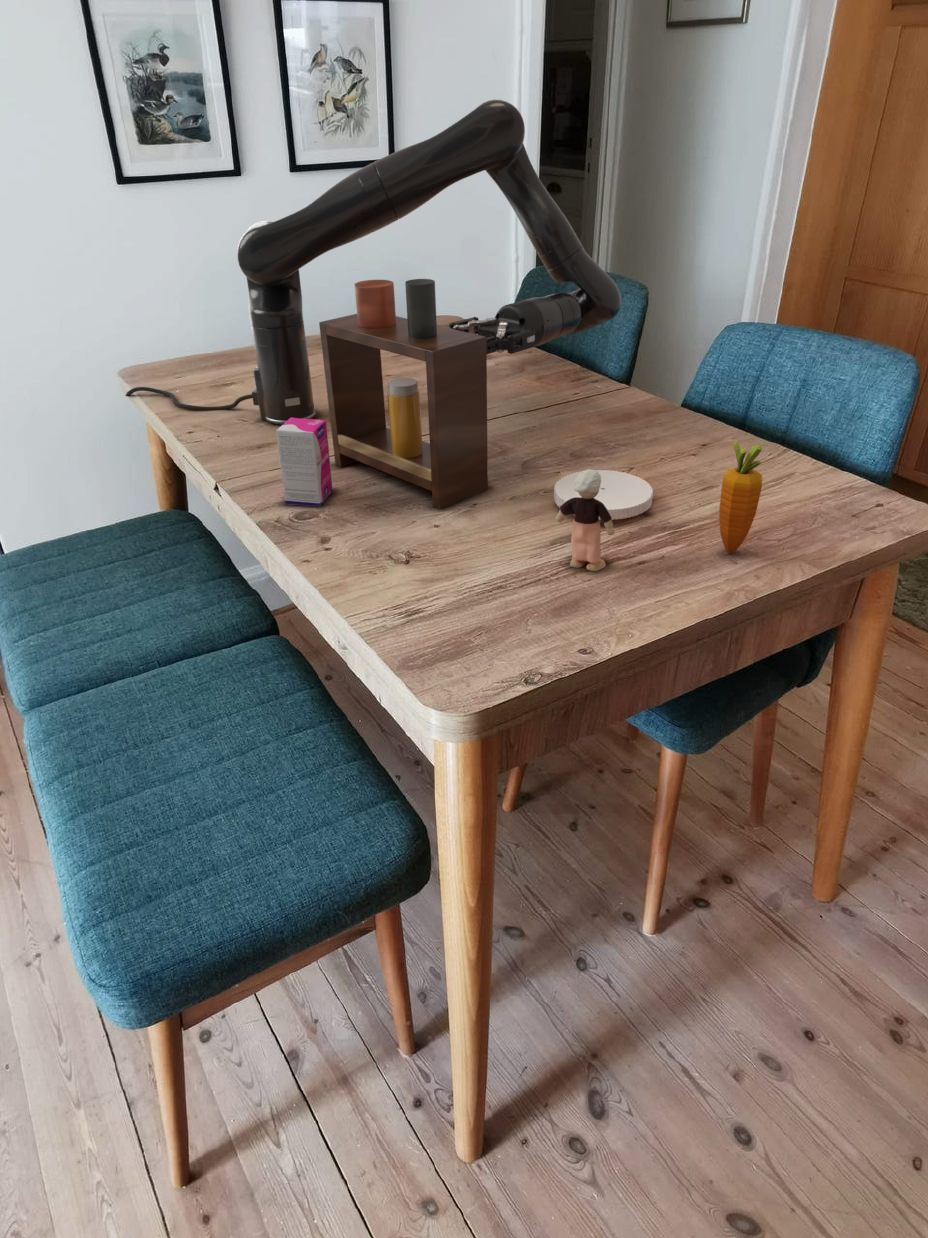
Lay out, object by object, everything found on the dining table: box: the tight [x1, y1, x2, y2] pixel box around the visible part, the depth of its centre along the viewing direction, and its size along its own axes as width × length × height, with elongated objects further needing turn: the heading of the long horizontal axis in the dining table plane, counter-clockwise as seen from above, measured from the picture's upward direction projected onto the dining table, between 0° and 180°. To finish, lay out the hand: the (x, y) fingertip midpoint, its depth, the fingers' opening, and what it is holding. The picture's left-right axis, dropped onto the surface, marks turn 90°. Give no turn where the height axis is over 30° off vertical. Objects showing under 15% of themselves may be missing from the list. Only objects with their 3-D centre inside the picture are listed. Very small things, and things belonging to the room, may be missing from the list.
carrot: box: [718, 441, 763, 555], centre depth 103 cm, size 5×5×15 cm
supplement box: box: [275, 418, 333, 507], centre depth 122 cm, size 6×6×12 cm
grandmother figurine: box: [555, 468, 616, 572], centre depth 103 cm, size 8×4×13 cm, turn 71°
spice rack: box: [318, 278, 489, 510], centre depth 123 cm, size 25×10×30 cm, turn 44°
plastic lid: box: [553, 469, 654, 521], centre depth 120 cm, size 14×14×2 cm
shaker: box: [387, 377, 423, 458], centre depth 126 cm, size 5×5×11 cm
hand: (458, 344), depth 128 cm, fingers open, 8 cm apart
